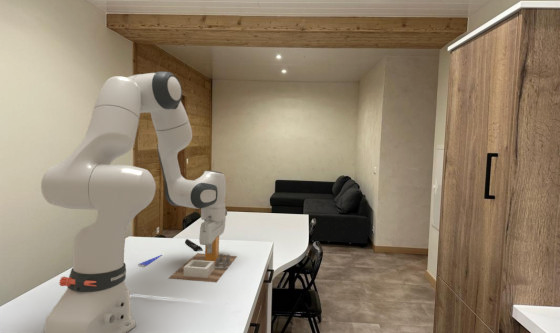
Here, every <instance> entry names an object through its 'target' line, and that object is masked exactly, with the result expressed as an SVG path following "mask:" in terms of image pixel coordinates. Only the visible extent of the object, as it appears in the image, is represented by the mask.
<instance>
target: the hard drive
mask: <svg viewBox="0 0 560 333" xmlns="http://www.w3.org/2000/svg"><path fill="white" fill-rule="evenodd" d="M162 256H163V254H160V255H157V256H155V257H153V258H150V259H147V260H145V261H142V262H139V263H138V264H137V267H138V266H139V267H140V268H147V266H149V265H150V264H151V263H153V262H155V261H157V260H158V259H160V258H161V257H162Z"/></svg>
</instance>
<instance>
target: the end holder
mask: <svg viewBox="0 0 560 333" xmlns="http://www.w3.org/2000/svg"><path fill="white" fill-rule="evenodd" d="M214 266H215V261H204V260H191V261H190V262H189V263H188V264H187V265H185V266H184V275H183V276H189V277H201V278H208V277H209V275H210V274H211V273H212V272H213V271H214Z"/></svg>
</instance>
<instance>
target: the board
mask: <svg viewBox="0 0 560 333" xmlns="http://www.w3.org/2000/svg"><path fill="white" fill-rule="evenodd" d="M236 258H238V256H236V255H231V254H226V255H225V254H222V253H221V254H220V253H219V258H216V262H215V266H214V271H213V272H212V273H211V274H210V275H209V277H208V278H201V277H189V276H183V275H184V266H185V265H187V264H188V263H189V262H190V261H191V260H204V261H205V253H200V252H197V253H196V254H195V255H194V256H192V258H190V259H189V260H188V261H186V262H185V263H184V264H183V265H182V266H181V267H180V268H178V269H177V270H176V271H175V272H174V273H172V274H171V275H170V276H169V277H168V279H170V280H180V281H181V280H182V281H184V280H185V281H195V282H205V283H217V282H218V281H219V280H221V278H222V276H223V275H224V274H225V273H226V272H227V270H228V268H230V266H231V265H232V263H233V262H234V261H235V260H236Z"/></svg>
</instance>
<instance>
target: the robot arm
mask: <svg viewBox="0 0 560 333" xmlns="http://www.w3.org/2000/svg"><path fill="white" fill-rule="evenodd" d="M182 98H183V88H182V84H181V82H180V80H179V78H177V76H176V75H175V74H173V73H172V72H170V71H157V72H149V73H143V74H142V73H139V74H133V75H129V76H126V77H125V76H121V75H114V76H111V77H109V78H108V79H106V80H105V81H104V82H103V85H102V87H101V89H100V91H99V93H98V95H97V98H96V100H95V103H94V107H93V110H92V113H91V118H90V121H89V124H88V127H87V130H86V133H85V135H84V138H83V139H82V141H81V142H80V143H79V145H78V146H77V147H76V148H75V150H73V152H72V153H70V155H69V156H67V157H66V158H65V159H63V160H62V161H60V162H59V163H56V164H54V165H52V166H50V167H49V168H48V169H47V170H46V171H45V173H44V174H43V177H42V179H41V183H40V184H41V185H40V189H41V193H42V197H43V198H44V199H45V201H46V202H47V203H48V204H49V205H53V206H56V207H59V208H60V207H61V208H64V209H69V210H91V211H92V210H94V211H95V210H96V211H97V216H96V217H97V218H96V220H95V222H94V223H90V224H89V225H87V226H84V227H83V228H81V229H80V230H79V231H78V232H77V233H76V235H75V236H74V237H73V242H72V246H73V247H72V248H73V249H72V254H73V255H72V258H73V260H72V268H71V270H70V273H69V275H68V277H67V276H61V277H60V279H59V282H58V285H59V286H60V287H64V286H65V287H67V288H66V290H65V291H64V293H63V294H62V295H61V297H60V298H59V300H58V301H57V303H56V304H55V305H54V307H53V309H51V311H50V313H49V314H48V315H47V316H46V318H45V321H44V325H43V326H44V327H43V333H127V332H130V330H132V329H133V328H135V327H137V325H136V324H137V323H136V320H135V319H134V318H133V317H132V304H131V292H130V290H129V289H128V287H127V285H126V282H125V280H126V279H127V278H126V277H127V267H126V263H125V246H126V245H125V244H126V236H127V232H128V229H129V227H130V225H131V222H132V221H133V220H134V219H135V217H136V216H137V215H138V214H139V213H140V212H142V210H145V208H147V207H148V206H149V205H150V204H151V203H152V201H153V199H154V197H155V196H156V195H155V194H156V191H157V190H156V189H157V188H156V187H157V186H156V181H155V177H153V175H152V173H151V172H150V171H149V170H148V169H145V168H142V167H137V166H135V165H129V164H111V163H113V161H115V160H116V159H118V158H120V157H121V156H124V155H126V154H128V153H129V152H130V151H131V150H132V149H133V147H134V145H135V142H136V137H137V132H138V127H139V122H140V116H141V114H142V113H143V114H144V113H147V114H148V113H149V114H150V117H151V121H152V125H153V127H154V131H155V133H156V137H157V147H156V148H157V149H156V150H157V155H158V159H159V164H160V168H161V173H162V177H163V181H164V197H165V200H166V201H167V202H168V203H169V204H170V205H171V206H174V207H185V208H190V209H197V210H199V209H200V210H201V211H200V219H201V220H203V222H201V224H200V228H199V244H200V245H202V246H205V245H206V247H207V253H212V252H213V248H212V244H213V241H214V240H215V239H216V237H218V236H219V237H220V236H222V235H223V234H224V231H225V228H226V216H228V210H227V209H226V202H225V198H226V195H227V194H226V193H227V183H226V177H225V174H224V173H223V172H221V171H216V170H204V172H203V174H202V175H201V176H200V177H198V178H196V179H194V180H191V179H186V178H185V177H184V176H183V175H182V174H181V168H180V164H179V161H178V160H179V159H178V154H179V152H181V151H182V150H184V149H186V148H187V147H188V146H189V144H190V143H191V142H192V139H193V131H192V126H191V122H190V119H189V117H188V114H187V111H186V109H185V106H184V105H183V103H182Z"/></svg>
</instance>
